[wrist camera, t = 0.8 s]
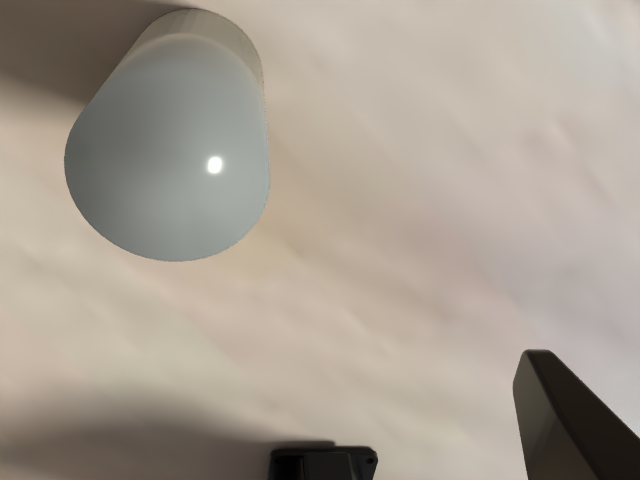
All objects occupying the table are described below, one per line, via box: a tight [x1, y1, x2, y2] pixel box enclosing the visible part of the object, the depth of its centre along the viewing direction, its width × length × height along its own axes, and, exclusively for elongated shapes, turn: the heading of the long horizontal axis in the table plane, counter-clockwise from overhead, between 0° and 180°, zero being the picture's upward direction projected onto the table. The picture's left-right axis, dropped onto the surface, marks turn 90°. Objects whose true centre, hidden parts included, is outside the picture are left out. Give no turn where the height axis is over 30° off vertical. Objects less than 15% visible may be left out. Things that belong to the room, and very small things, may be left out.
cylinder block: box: [64, 9, 270, 262], centre depth 18 cm, size 5×5×9 cm
